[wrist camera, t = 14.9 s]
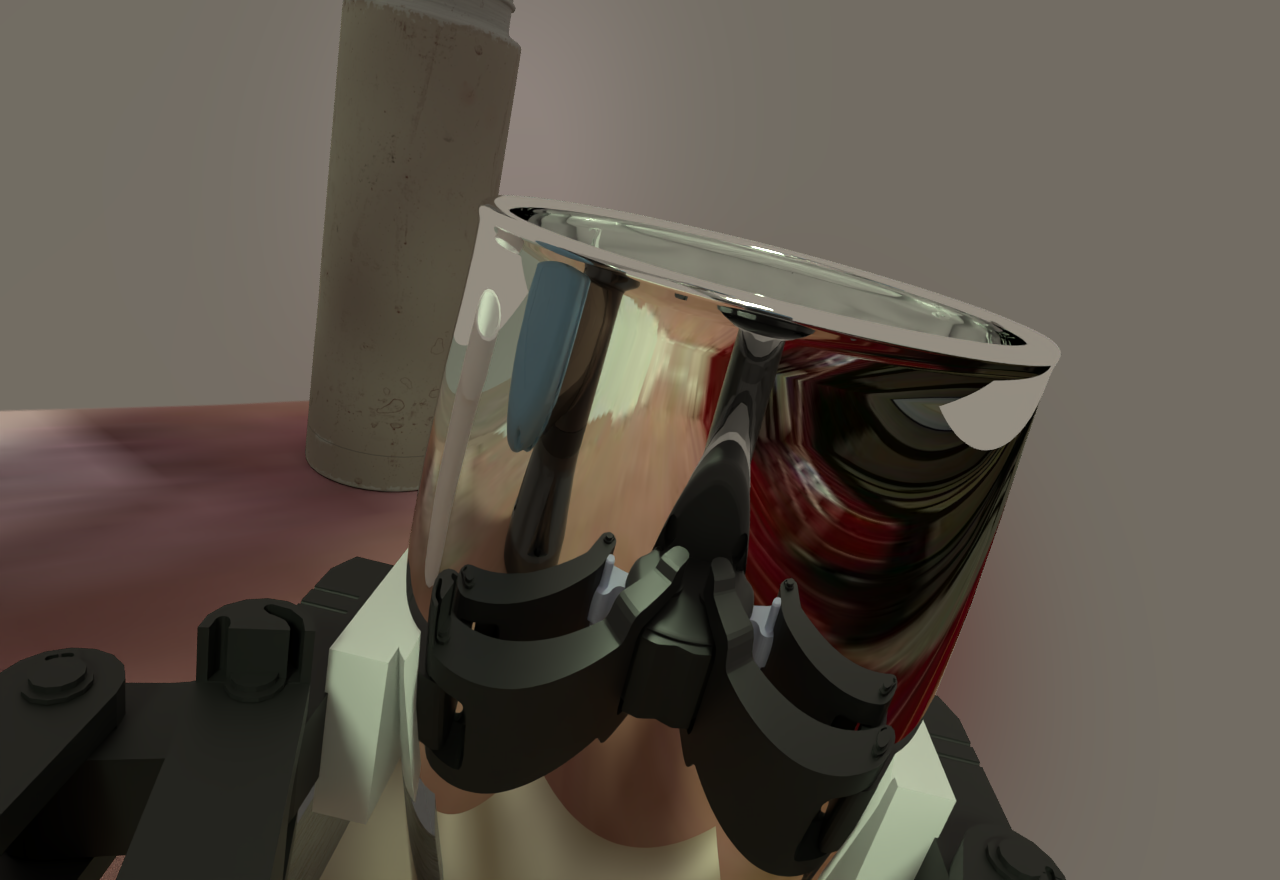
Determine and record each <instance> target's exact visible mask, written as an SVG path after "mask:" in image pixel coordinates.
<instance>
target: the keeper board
mask: <svg viewBox="0 0 1280 880" xmlns="http://www.w3.org/2000/svg"><path fill="white" fill-rule="evenodd" d="M319 880H410V867H409V855H408V843H407V832H406V820H405V806H404V792H403V777H402V763H401V757H400V759H399V761H398V763H397V765H396V767H395V769H394V771H393V773H392V775H391V777H390V779H389V781H388V783H387V784H386V786H385V788H384V790H383V792H382V794H381V796H380V798H379V800H378V802H377V804H376V806H375V808H374V810H373V812H372V814H371V816H370V818H369V820H368V821H367V823H366V825H365V824H361V823H357V822H353V821H350V822H349V824H348V826H347V828H346V830H345V832H344V834H343V836H342V838H341V839H340V841H339V843H338V845H337V847H336V849H335V851H334V853H333V855H332V857H331V858H330V860H329V862H328V864H327V866H326V868H325V870H324V872H323V874H322V875H321V877H320V879H319Z"/></svg>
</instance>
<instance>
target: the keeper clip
mask: <svg viewBox="0 0 1280 880" xmlns="http://www.w3.org/2000/svg"><path fill="white" fill-rule="evenodd" d="M314 789H315V784H314V786H313V787H312V789H311V790H310V792H309V794H308V795H307V797H306V798H305V800H304V802H303V803H302V805H301V806H300V808H299V809H298V816H297V826H296V835H295V840H294V846H293V851H292V856H291V862H290V867H289V873H288V878H287V880H319V879H320V877H321V875H322V874H323V872H324V870H325V868H326V866H327V864H328V862H329V860H330V858H331V857H332V855H333V853H334V851H335V849H336V847H337V845H338V843H339V841H340V839H341V838H342V836H343V834H344V832H345V830H346V828H347V826H348V824H349V822H350V821H349V820H344V819H340V818H336V817H332V816H328V815H324V814H320V813H315V812H312V808H313V798H314Z"/></svg>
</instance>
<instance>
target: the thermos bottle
mask: <svg viewBox="0 0 1280 880" xmlns="http://www.w3.org/2000/svg"><path fill="white" fill-rule="evenodd" d="M514 11H515V6H514V4H513V0H343V7H342V19H341V32H340V43H339V55H338V67H337V79H336V91H335V103H334V115H333V127H332V139H331V151H330V163H329V175H328V187H327V199H326V210H325V222H324V234H323V246H322V259H321V272H320V286H319V301H318V311H317V323H316V332H315V344H314V355H313V366H312V378H311V390H310V402H309V414H308V426H307V438H306V450H305V453H306V459H307V461H308V463H309V465H310V466H311V467H312V468H313V469H314V470H315V471H317V472H318V473H320V474H321V475H323V476H325V477H326V478H329V479H331V480H333V481H336V482H338V483H341V484H345V485H348V486H352V487H356V488H362V489H367V490H376V491H392V492H401V491H414V490H418V488H419V483H420V477H421V472H422V466H423V461H424V455H425V449H426V444H427V440H428V435H429V431H430V426H431V422H432V418H433V413H434V409H435V404H436V400H437V395H438V391H439V387H440V382H441V378H442V373H443V369H444V364H445V360H446V356H447V352H448V348H449V344H450V340H451V336H452V332H453V328H454V325H455V321H456V317H457V313H458V309H459V305H460V301H461V297H462V293H463V288H464V284H465V280H466V275H467V271H468V266H469V262H470V258H471V253H472V249H473V244H474V238H475V233H476V228H477V220H478V212H477V211H478V205H479V203H480V202H481V201H482V200H483V199H484V198H487V197H491V196H498V193H499V187H500V180H501V174H502V167H503V161H504V154H505V149H506V142H507V136H508V130H509V123H510V117H511V111H512V105H513V98H514V92H515V86H516V79H517V73H518V67H519V61H520V54H521V47H520V45H519V44H518V43H517V42H515V41H514V40H513V39H511V38H510V36H509V25H510V18H511V13H513V12H514Z"/></svg>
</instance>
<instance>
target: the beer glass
mask: <svg viewBox="0 0 1280 880" xmlns="http://www.w3.org/2000/svg"><path fill="white" fill-rule="evenodd" d="M477 212H478V220H477V228H476V233H475V238H474V244H473V249H472V253H471V258H470V262H469V266H468V271H467V275H466V280H465V284H464V288H463V293H462V297H461V301H460V305H459V309H458V313H457V317H456V321H455V325H454V328H453V332H452V336H451V340H450V344H449V348H448V352H447V356H446V360H445V364H444V369H443V373H442V378H441V382H440V387H439V391H438V395H437V400H436V404H435V409H434V413H433V418H432V422H431V426H430V431H429V435H428V440H427V444H426V449H425V455H424V461H423V466H422V472H421V477H420V483H419V488H418V494H417V500H416V505H415V511H414V516H413V522H412V527H411V533H410V539H409V547H408V557H407V566H406V576H405V586H404V596H403V605H402V615H401V625H400V635H399V732H400V748H401V763H402V777H403V792H404V806H405V820H406V832H407V843H408V855H409V867H410V880H829V879H830V878H831V877H832V875H833V874H834V872H835V871H836V869H837V868H838V866H839V865H840V863H841V862H842V860H843V859H844V857H845V856H846V854H847V853H848V851H849V850H850V848H851V847H852V845H853V843H854V842H855V840H856V839H857V837H858V836H859V834H860V833H861V831H862V830H863V828H864V827H865V825H866V824H867V822H868V821H869V819H870V818H871V816H872V815H873V813H874V811H875V810H876V808H877V807H878V805H879V804H880V802H881V801H882V799H883V798H884V796H885V794H886V793H887V791H888V789H889V787H890V785H891V783H892V781H893V779H894V777H895V775H896V773H897V771H898V769H899V767H900V765H901V763H902V761H903V759H904V757H905V755H906V753H907V751H908V749H909V747H910V745H911V743H912V741H913V739H914V737H915V735H916V733H917V731H918V729H919V727H920V725H921V723H922V721H923V719H924V717H925V715H926V713H927V711H928V709H929V707H930V705H931V703H932V701H933V699H934V696H935V694H936V691H937V689H938V686H939V684H940V681H941V679H942V676H943V674H944V671H945V669H946V666H947V664H948V662H949V659H950V656H951V654H952V652H953V649H954V647H955V644H956V642H957V639H958V637H959V634H960V632H961V629H962V627H963V624H964V622H965V620H966V617H967V614H968V612H969V610H970V607H971V604H972V601H973V599H974V596H975V593H976V590H977V587H978V584H979V582H980V579H981V576H982V573H983V570H984V567H985V564H986V561H987V558H988V556H989V553H990V550H991V547H992V544H993V541H994V538H995V535H996V533H997V530H998V527H999V524H1000V521H1001V518H1002V515H1003V512H1004V508H1005V506H1006V503H1007V500H1008V496H1009V493H1010V490H1011V487H1012V484H1013V481H1014V478H1015V475H1016V471H1017V468H1018V465H1019V462H1020V459H1021V456H1022V453H1023V450H1024V446H1025V443H1026V441H1027V438H1028V435H1029V432H1030V429H1031V426H1032V423H1033V420H1034V417H1035V414H1036V411H1037V409H1038V405H1039V403H1040V400H1041V397H1042V395H1043V392H1044V389H1045V387H1046V384H1047V382H1048V379H1049V377H1050V375H1051V372H1052V371H1053V368H1054V367H1055V365H1056V364H1057V363H1058V361H1059V359H1060V356H1061V352H1060V349H1059V347H1058V346H1057V345H1056V344H1055V343H1054V342H1053V341H1052V340H1051V339H1049V338H1048V337H1046V336H1044V335H1042V334H1041V333H1039V332H1037V331H1035V330H1033V329H1031V328H1029V327H1026V326H1024V325H1022V324H1020V323H1017V322H1015V321H1012V320H1010V319H1008V318H1005V317H1003V316H1000V315H997V314H995V313H992V312H990V311H987V310H984V309H982V308H979V307H976V306H973V305H970V304H968V303H965V302H962V301H959V300H956V299H953V298H950V297H947V296H944V295H941V294H938V293H935V292H932V291H929V290H926V289H923V288H919V287H916V286H913V285H910V284H906V283H903V282H900V281H897V280H894V279H890V278H887V277H884V276H880V275H877V274H873V273H870V272H867V271H863V270H860V269H856V268H853V267H849V266H846V265H842V264H839V263H835V262H831V261H828V260H824V259H820V258H817V257H813V256H809V255H805V254H802V253H798V252H794V251H791V250H787V249H783V248H779V247H775V246H771V245H767V244H763V243H759V242H755V241H751V240H747V239H743V238H739V237H735V236H731V235H727V234H723V233H718V232H714V231H710V230H706V229H701V228H697V227H693V226H688V225H684V224H679V223H675V222H670V221H665V220H661V219H657V218H652V217H646V216H642V215H637V214H632V213H628V212H622V211H617V210H612V209H607V208H601V207H596V206H590V205H584V204H578V203H572V202H566V201H559V200H552V199H544V198H535V197H525V196H510V195H498V196H491V197H487V198H484V199H483V200H482V201H481V202H480V203H479V205H478V211H477Z"/></svg>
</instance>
